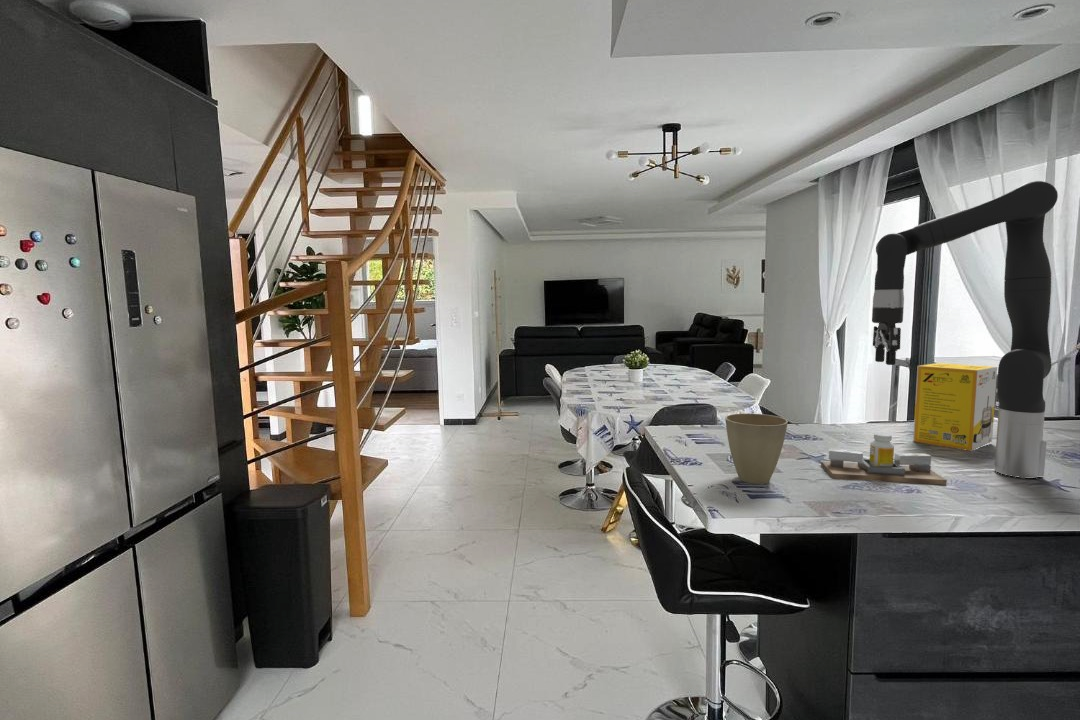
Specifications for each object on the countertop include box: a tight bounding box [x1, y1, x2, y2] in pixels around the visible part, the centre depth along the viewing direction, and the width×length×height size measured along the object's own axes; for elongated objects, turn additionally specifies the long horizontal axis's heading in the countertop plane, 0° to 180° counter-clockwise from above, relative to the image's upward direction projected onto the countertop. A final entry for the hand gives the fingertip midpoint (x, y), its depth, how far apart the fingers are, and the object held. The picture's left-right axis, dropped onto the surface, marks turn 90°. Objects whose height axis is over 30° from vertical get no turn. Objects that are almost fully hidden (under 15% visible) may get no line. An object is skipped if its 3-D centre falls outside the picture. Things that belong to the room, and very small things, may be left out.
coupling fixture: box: [828, 448, 932, 476], centre depth 151 cm, size 24×9×4 cm, turn 77°
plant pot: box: [724, 412, 789, 485], centre depth 146 cm, size 15×15×16 cm
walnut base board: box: [820, 461, 948, 486], centre depth 151 cm, size 26×12×1 cm, turn 77°
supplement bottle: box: [868, 432, 895, 467], centre depth 150 cm, size 5×5×10 cm
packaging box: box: [912, 362, 998, 451], centre depth 184 cm, size 16×16×25 cm
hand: (884, 363), depth 163 cm, fingers open, 8 cm apart
